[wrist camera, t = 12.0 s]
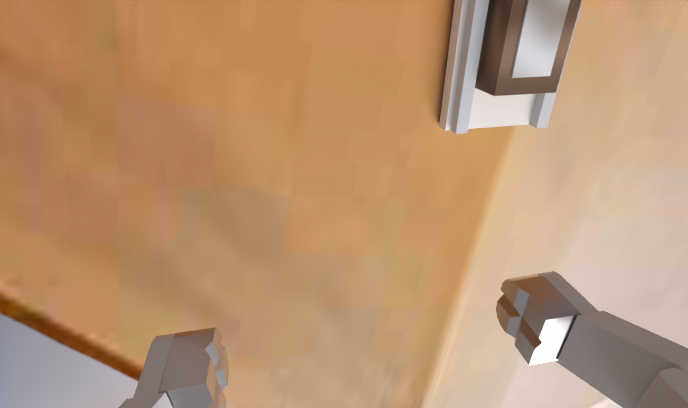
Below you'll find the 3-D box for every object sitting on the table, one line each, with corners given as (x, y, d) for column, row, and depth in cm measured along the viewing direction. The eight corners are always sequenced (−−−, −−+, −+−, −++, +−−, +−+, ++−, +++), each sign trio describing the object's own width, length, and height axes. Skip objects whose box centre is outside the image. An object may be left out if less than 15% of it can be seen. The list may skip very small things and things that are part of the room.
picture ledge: (475, -169, 26) (495, -185, 24) (607, -161, 27) (638, -176, 25) (439, 125, 37) (450, 134, 35) (535, 119, 38) (551, 126, 36)
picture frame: (506, -103, 27) (537, -116, 24) (576, -101, 28) (615, -114, 25) (474, 87, 34) (495, 96, 31) (531, 84, 35) (557, 92, 32)
